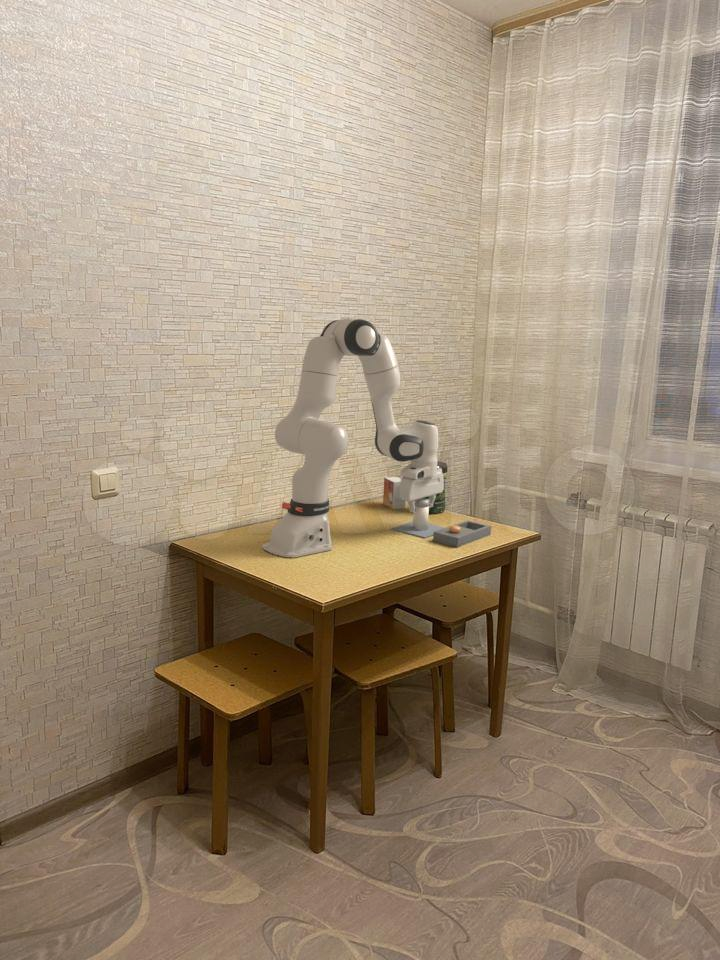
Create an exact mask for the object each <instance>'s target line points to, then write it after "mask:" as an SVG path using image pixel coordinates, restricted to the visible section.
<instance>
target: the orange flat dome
mask: <svg viewBox="0 0 720 960" xmlns="http://www.w3.org/2000/svg"><path fill="white" fill-rule="evenodd" d="M452 525H453V526H452ZM452 525H449V526H448V527H449V532H452V533H459V532H460V529H461V527H460V526H454V525H455V524H452Z"/></svg>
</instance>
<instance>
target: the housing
mask: <svg viewBox="0 0 720 960" xmlns="http://www.w3.org/2000/svg"><path fill="white" fill-rule="evenodd" d="M453 525H454V526H460V527H461V529H460V532H459V533H452V532H449V526H447V527H445V528H443V529H440V530H437V531H435V532H434V535H433V536H432V538H433V539H432V541H433V542H437V543H440V544H444V545H448V546H450V547H454V548H459V547H462V545H463V546H465V545H467V543H468V544H471V543H472V542H473V543H474V542H475V540H476V541H478V540H480V539H483V538H486V537H488V536H491V535H492V525H489V524H484V523H480V522H476V521H472V520H468V519H466V520H464V521H461V522H458V523H456V524H455V523H454V524H452V525H451V526H453Z"/></svg>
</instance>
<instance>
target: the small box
mask: <svg viewBox="0 0 720 960" xmlns="http://www.w3.org/2000/svg"><path fill="white" fill-rule="evenodd" d="M383 478H384V479H383V494H382V495H383V496H382V497H383V498H382V505H384V506H386V507H388V508H389V509H391V510H401V509H403V510H404V509H405V508H406V504H407V503H406V502H407V501H404V500H401V498H400V482H401V479H402V478H400V477H398V476H391V477H390V476H388V477H387V476H386V477H383Z"/></svg>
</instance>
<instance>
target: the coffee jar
mask: <svg viewBox="0 0 720 960" xmlns="http://www.w3.org/2000/svg"><path fill="white" fill-rule="evenodd" d="M437 466H440V467H441V469H442V473H443V480H444V489H443V491H442V493H438V494H436V498H435V500H434V502H433V507H431V508H429V514H430V515H432V514H433V515H434V513H435V514H439V513H442V512H441V511H443V512H444V511H446V480H447V477H448V468H449V467H448V464H447V462H444V461H443V462H442V461H440V460H439V461H438V460H437ZM424 498H426V499H429V496H427V497H424Z"/></svg>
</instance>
